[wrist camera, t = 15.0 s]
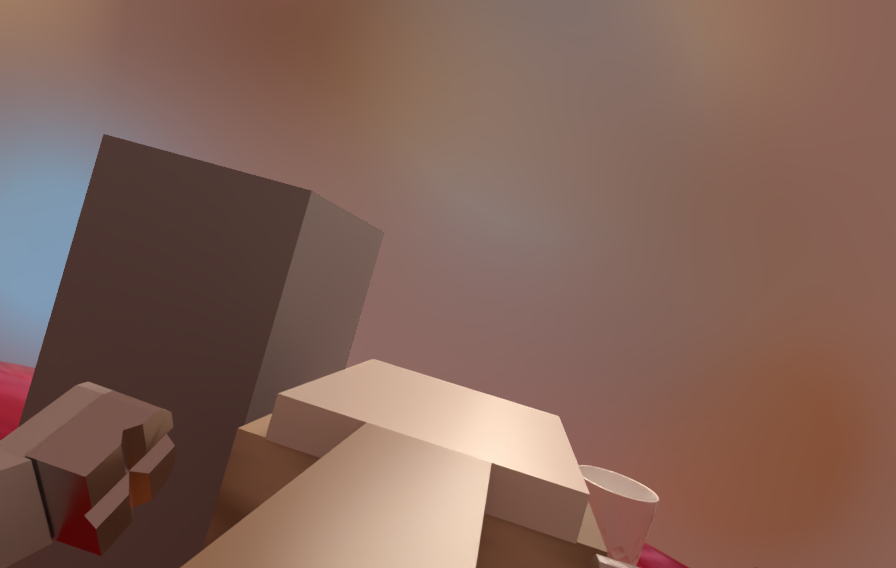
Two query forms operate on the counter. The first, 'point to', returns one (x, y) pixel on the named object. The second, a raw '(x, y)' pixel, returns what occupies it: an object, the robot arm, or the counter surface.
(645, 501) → the white cup
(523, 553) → the box
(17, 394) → the counter surface
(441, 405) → the lid flap
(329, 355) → the carton
